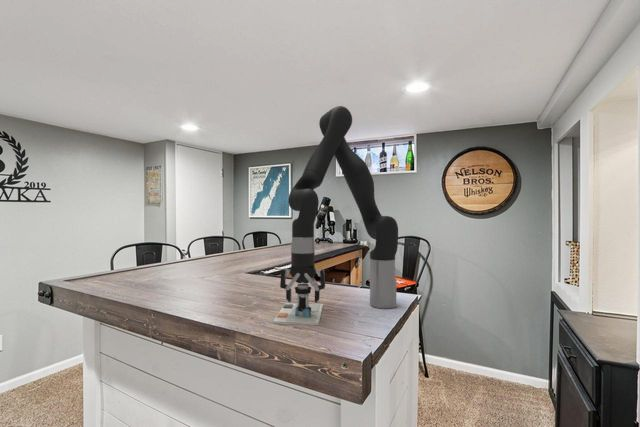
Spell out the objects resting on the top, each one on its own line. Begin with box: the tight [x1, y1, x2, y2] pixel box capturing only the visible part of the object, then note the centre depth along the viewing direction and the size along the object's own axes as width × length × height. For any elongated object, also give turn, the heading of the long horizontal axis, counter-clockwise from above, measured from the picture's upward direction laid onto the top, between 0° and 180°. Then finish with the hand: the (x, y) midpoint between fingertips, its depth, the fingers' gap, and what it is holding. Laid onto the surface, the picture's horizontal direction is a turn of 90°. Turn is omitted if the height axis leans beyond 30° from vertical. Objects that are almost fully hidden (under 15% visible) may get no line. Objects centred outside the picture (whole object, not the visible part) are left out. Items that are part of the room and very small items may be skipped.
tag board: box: [272, 302, 324, 326], centre depth 104 cm, size 14×20×1 cm
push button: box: [294, 283, 315, 317], centre depth 99 cm, size 7×5×10 cm
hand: (302, 301), depth 99 cm, fingers open, 8 cm apart
